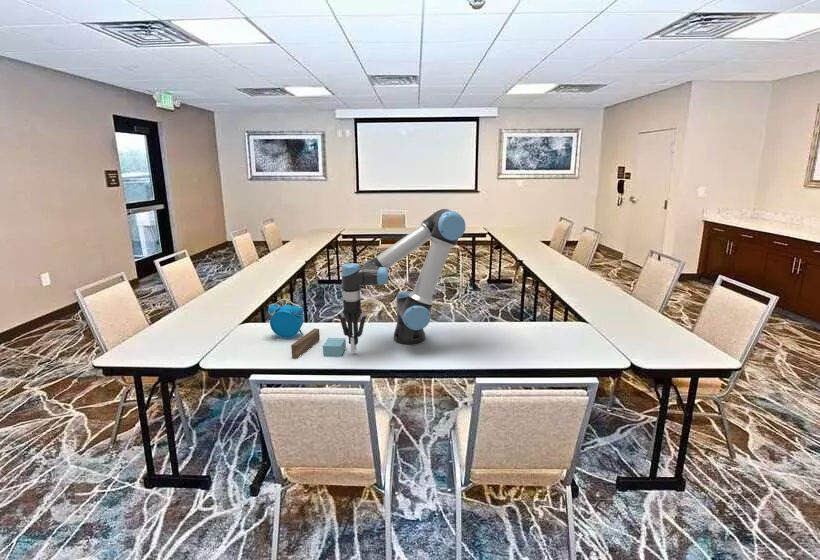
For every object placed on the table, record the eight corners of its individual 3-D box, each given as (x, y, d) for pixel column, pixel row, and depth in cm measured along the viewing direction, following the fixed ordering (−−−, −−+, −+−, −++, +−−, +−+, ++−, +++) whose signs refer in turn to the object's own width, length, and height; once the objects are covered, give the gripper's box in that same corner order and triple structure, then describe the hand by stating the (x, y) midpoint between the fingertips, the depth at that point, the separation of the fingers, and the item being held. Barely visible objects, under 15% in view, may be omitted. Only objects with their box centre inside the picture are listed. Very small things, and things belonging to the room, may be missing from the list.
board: (319, 340, 225) (319, 328, 223) (297, 358, 204) (296, 345, 203) (315, 340, 226) (314, 328, 224) (292, 358, 205) (291, 345, 204)
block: (345, 348, 216) (345, 338, 215) (341, 357, 206) (340, 346, 205) (328, 348, 216) (328, 337, 215) (323, 356, 207) (322, 346, 206)
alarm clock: (308, 333, 234) (305, 295, 230) (301, 341, 224) (299, 300, 220) (275, 333, 236) (272, 294, 231) (267, 340, 226) (264, 300, 221)
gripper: (369, 298, 205) (370, 349, 210) (341, 296, 208) (343, 346, 214) (362, 302, 198) (364, 355, 203) (334, 300, 201) (336, 352, 207)
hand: (353, 350), depth 208 cm, fingers closed
